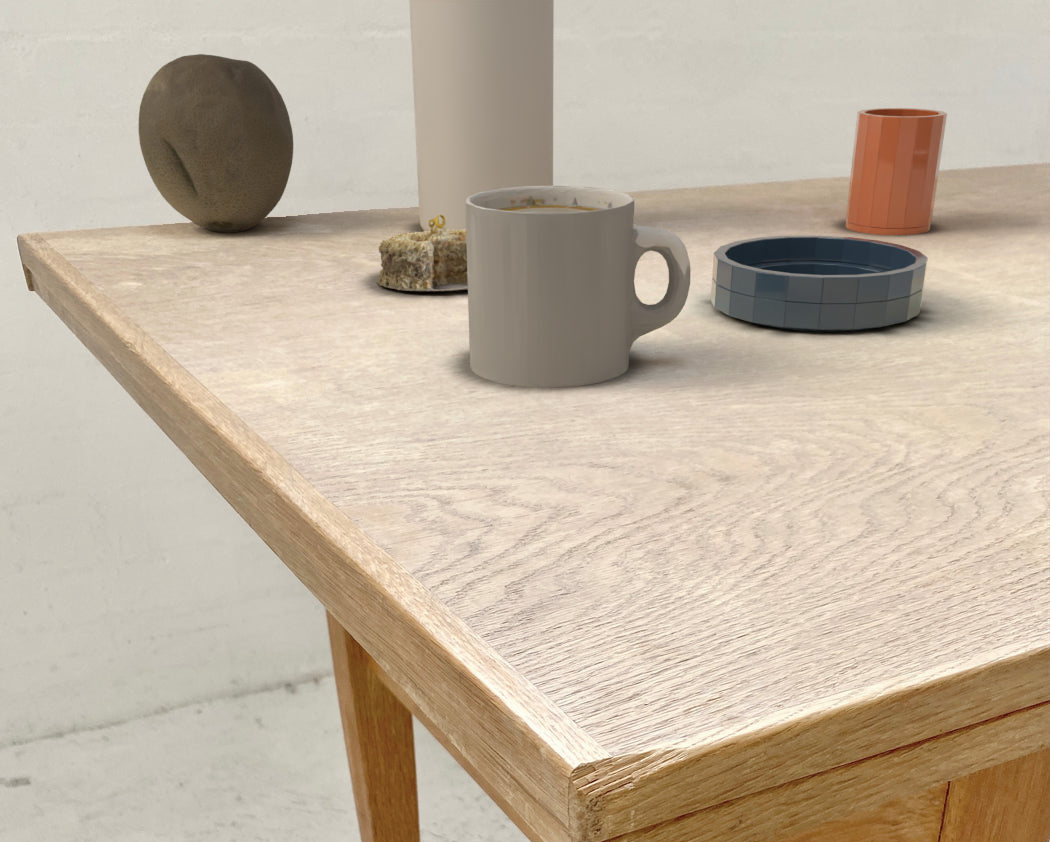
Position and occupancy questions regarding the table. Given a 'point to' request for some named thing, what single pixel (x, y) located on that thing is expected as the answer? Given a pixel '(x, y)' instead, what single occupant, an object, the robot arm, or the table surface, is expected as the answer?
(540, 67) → the cylinder vase
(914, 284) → the bowl
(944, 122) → the tumbler
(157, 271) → the table surface
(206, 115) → the brown rounded stone
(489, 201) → the coffee mug
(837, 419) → the table surface
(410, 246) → the cake
